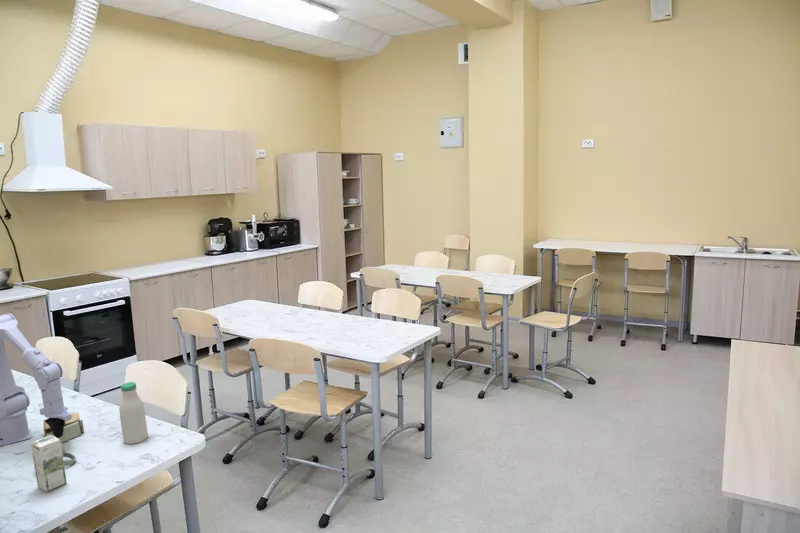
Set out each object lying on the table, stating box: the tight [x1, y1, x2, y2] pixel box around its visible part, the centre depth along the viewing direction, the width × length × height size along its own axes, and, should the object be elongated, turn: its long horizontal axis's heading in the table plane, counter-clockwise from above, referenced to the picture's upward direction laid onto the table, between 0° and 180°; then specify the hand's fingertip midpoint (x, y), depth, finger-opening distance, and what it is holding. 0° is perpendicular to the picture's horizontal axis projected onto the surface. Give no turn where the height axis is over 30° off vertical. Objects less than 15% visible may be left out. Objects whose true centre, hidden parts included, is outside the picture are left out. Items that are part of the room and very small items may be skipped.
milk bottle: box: [119, 381, 148, 445], centre depth 197 cm, size 8×8×20 cm
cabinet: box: [43, 411, 85, 437], centre depth 206 cm, size 12×9×5 cm
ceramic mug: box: [61, 442, 77, 467], centre depth 183 cm, size 11×8×8 cm
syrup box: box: [30, 435, 67, 493], centre depth 171 cm, size 6×6×14 cm
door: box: [47, 422, 82, 444], centre depth 199 cm, size 10×2×5 cm, turn 148°
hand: (59, 437), depth 197 cm, fingers closed
